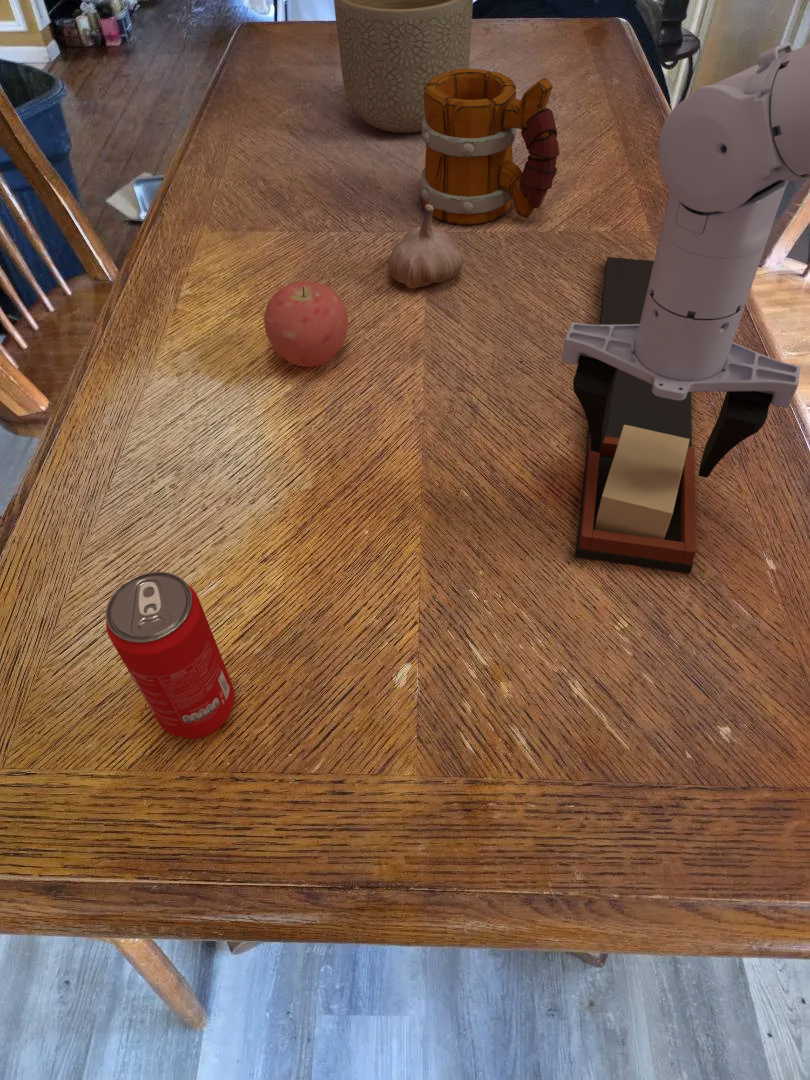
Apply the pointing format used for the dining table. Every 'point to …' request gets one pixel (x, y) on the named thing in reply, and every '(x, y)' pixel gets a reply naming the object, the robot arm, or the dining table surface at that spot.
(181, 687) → the beverage can
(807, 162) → the robot arm
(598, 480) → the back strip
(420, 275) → the garlic bulb
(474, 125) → the mug
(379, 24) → the planter
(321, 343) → the apple
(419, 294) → the dining table surface
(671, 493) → the foam pad
